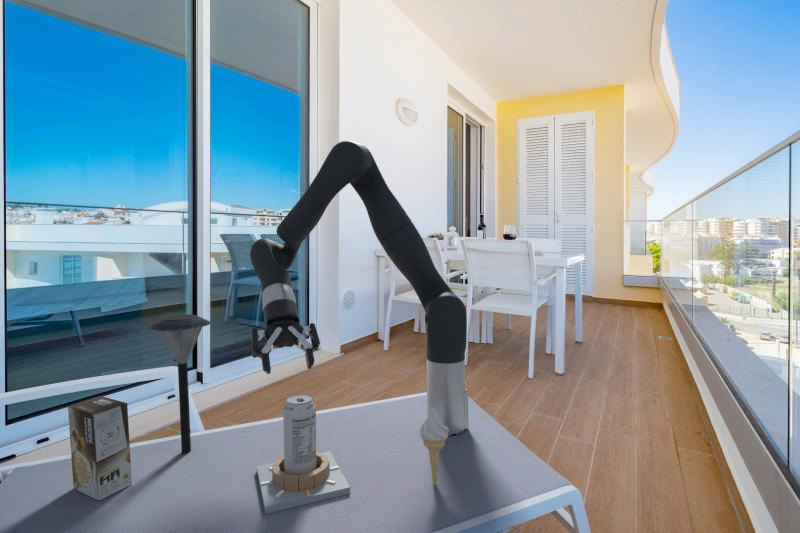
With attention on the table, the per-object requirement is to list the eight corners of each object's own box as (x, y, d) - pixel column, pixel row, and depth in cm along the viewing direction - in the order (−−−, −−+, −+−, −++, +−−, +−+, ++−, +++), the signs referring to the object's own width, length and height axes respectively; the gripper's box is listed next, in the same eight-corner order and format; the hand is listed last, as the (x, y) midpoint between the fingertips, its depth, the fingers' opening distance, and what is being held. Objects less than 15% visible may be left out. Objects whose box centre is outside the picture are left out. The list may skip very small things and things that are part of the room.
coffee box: (134, 484, 86) (129, 402, 85) (98, 501, 80) (93, 414, 79) (106, 473, 90) (101, 395, 89) (70, 489, 84) (65, 405, 83)
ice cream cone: (429, 495, 81) (429, 414, 80) (414, 480, 86) (413, 404, 85) (455, 487, 83) (455, 408, 82) (439, 473, 88) (438, 399, 87)
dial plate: (330, 456, 96) (329, 439, 95) (350, 493, 82) (349, 473, 82) (256, 471, 90) (256, 453, 90) (265, 514, 76) (264, 493, 76)
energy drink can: (310, 464, 90) (309, 391, 89) (321, 478, 85) (320, 400, 84) (280, 472, 87) (279, 396, 86) (289, 487, 82) (288, 407, 81)
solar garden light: (216, 458, 95) (211, 319, 93) (151, 470, 91) (144, 324, 89) (216, 435, 107) (211, 310, 105) (158, 444, 102) (151, 314, 100)
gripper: (248, 299, 98) (255, 364, 88) (312, 295, 104) (326, 356, 94) (247, 319, 103) (253, 383, 94) (308, 314, 109) (320, 374, 99)
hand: (289, 369), depth 94 cm, fingers open, 8 cm apart
